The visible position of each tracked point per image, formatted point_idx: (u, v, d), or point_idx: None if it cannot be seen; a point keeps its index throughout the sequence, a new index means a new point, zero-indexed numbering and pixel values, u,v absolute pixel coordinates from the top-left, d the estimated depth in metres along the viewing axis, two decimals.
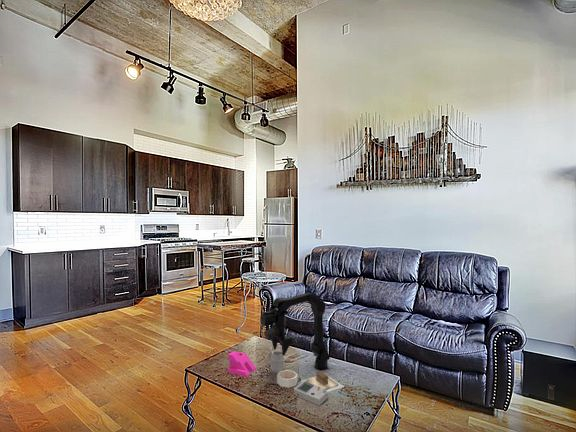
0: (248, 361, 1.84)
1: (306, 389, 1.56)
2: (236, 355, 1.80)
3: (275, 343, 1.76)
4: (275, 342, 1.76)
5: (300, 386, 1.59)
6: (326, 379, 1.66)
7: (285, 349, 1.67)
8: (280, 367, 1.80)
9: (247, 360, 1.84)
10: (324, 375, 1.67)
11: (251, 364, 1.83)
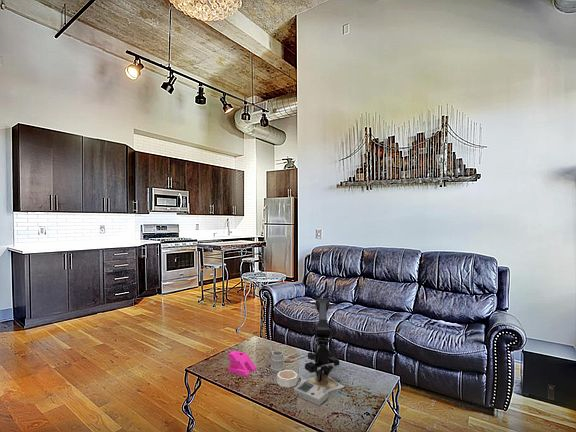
0: (248, 361, 1.84)
1: (306, 389, 1.57)
2: (236, 354, 1.81)
3: None
4: (325, 373, 1.69)
5: (300, 386, 1.59)
6: (326, 379, 1.66)
7: (318, 375, 1.66)
8: (280, 367, 1.80)
9: (247, 360, 1.84)
10: (324, 375, 1.67)
11: (251, 364, 1.84)
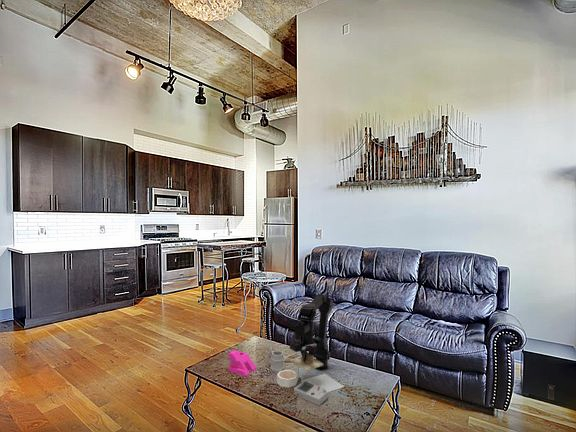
0: (249, 361, 1.84)
1: (306, 389, 1.57)
2: (236, 354, 1.82)
3: None
4: (310, 353, 1.69)
5: (300, 386, 1.59)
6: (311, 359, 1.66)
7: (303, 355, 1.66)
8: (280, 367, 1.80)
9: (248, 360, 1.84)
10: (309, 355, 1.67)
11: (252, 364, 1.84)
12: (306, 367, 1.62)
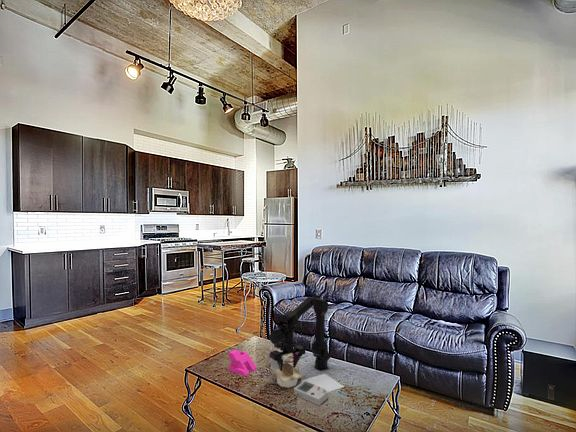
0: (249, 361, 1.84)
1: (306, 389, 1.57)
2: (236, 354, 1.82)
3: (294, 361, 1.71)
4: (294, 360, 1.71)
5: (300, 386, 1.59)
6: (291, 370, 1.67)
7: (279, 364, 1.66)
8: None
9: (248, 359, 1.84)
10: (289, 366, 1.68)
11: (252, 364, 1.84)
12: (285, 379, 1.62)
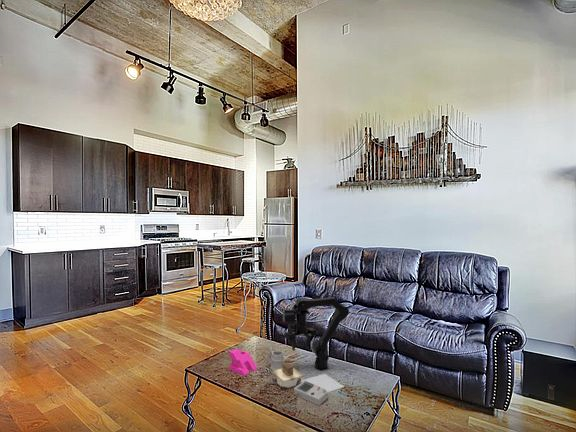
0: (250, 360, 1.85)
1: (306, 389, 1.57)
2: (237, 353, 1.83)
3: (307, 342, 1.86)
4: (307, 341, 1.86)
5: (300, 386, 1.59)
6: (291, 370, 1.67)
7: (292, 344, 1.81)
8: (280, 367, 1.80)
9: (249, 359, 1.85)
10: (289, 366, 1.68)
11: (252, 364, 1.84)
12: (285, 379, 1.62)
